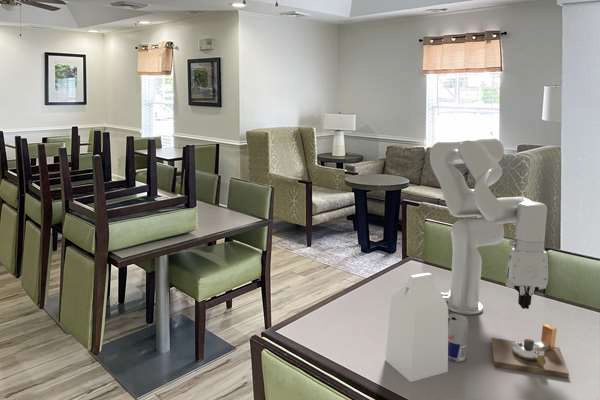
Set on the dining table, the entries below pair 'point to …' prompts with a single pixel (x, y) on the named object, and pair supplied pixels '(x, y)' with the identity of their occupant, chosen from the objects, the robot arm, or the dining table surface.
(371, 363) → the dining table surface
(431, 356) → the milk
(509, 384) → the dining table surface
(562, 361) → the walnut board
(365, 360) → the dining table surface
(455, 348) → the energy drink
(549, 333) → the crank handle
